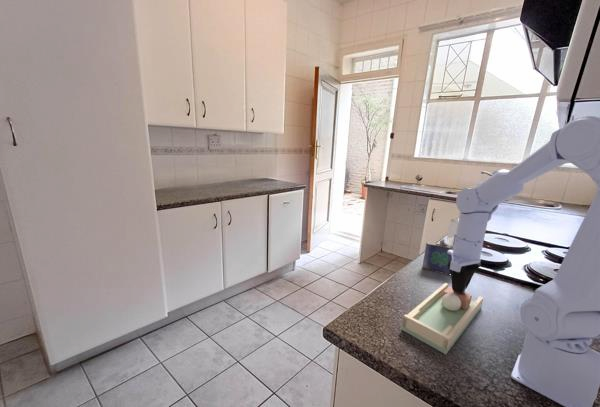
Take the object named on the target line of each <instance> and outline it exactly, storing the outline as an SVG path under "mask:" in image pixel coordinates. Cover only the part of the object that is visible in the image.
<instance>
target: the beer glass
mask: <svg viewBox="0 0 600 407" xmlns="http://www.w3.org/2000/svg"><path fill="white" fill-rule="evenodd" d="M458 221H459V218H458V219H457V218H455V219H453V218H452V219H450V221H449V223H448V224H449V225H448V229H447V236H446V237H447V238H446V240H447V241H446V242H447V243H446V244H447V245H449V246H451V245H452V246H453V247H454V243H455V238H456V232H457V227H458Z"/></svg>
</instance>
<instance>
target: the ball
mask: <svg viewBox="0 0 600 407" xmlns="http://www.w3.org/2000/svg"><path fill="white" fill-rule="evenodd" d="M442 304H443V306H444V307H445V308H446V309H448V310H450V311H456V310H458V309H459V308H460V306H461V301H460V299H459V297H458V296H456V295H455V294H452V293H448V294H445V295H444V296H443V298H442Z"/></svg>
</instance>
